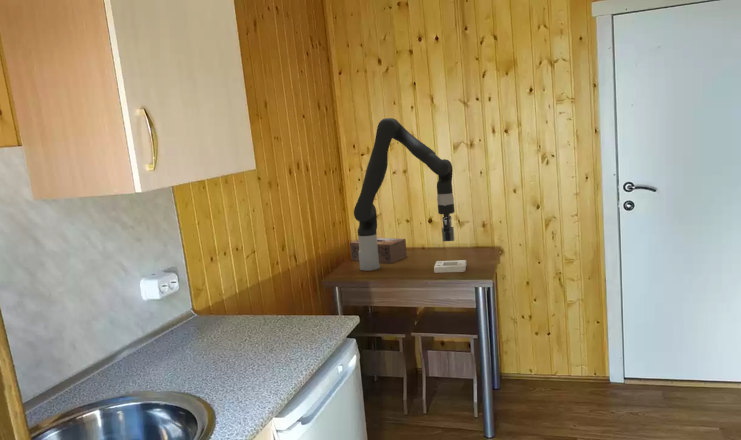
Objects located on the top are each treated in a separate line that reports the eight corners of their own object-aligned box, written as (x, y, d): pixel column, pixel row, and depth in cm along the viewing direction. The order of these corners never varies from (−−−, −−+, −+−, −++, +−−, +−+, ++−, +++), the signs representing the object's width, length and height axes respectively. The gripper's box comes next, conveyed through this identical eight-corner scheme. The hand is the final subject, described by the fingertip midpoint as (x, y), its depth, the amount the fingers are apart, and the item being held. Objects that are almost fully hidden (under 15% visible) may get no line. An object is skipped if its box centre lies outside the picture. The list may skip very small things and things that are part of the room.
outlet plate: (434, 272, 269) (433, 267, 268) (437, 266, 280) (436, 261, 280) (464, 271, 266) (464, 266, 265) (466, 265, 277) (466, 259, 277)
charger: (442, 241, 270) (441, 228, 269) (443, 239, 273) (442, 227, 272) (453, 240, 268) (452, 228, 267) (454, 239, 272) (453, 226, 271)
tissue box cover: (406, 257, 306) (405, 238, 304) (391, 264, 295) (389, 244, 293) (367, 254, 322) (366, 236, 320) (351, 260, 310) (349, 242, 309)
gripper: (439, 201, 276) (441, 236, 278) (435, 205, 262) (438, 243, 265) (455, 200, 274) (457, 236, 277) (452, 204, 260) (455, 242, 263)
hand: (448, 239), depth 271 cm, fingers closed on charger, 4 cm apart
